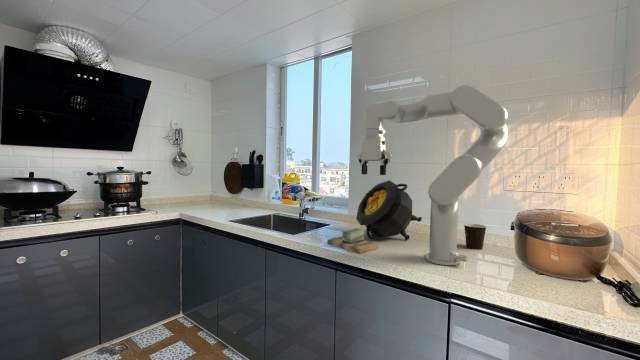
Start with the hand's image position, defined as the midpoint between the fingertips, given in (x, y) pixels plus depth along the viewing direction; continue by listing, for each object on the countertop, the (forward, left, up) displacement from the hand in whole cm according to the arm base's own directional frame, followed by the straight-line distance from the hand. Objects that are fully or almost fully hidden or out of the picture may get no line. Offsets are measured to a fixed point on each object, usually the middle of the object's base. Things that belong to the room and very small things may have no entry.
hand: (373, 174), depth 120 cm
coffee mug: (-27, -37, -32) cm, 56 cm away
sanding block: (+9, +2, -30) cm, 32 cm away
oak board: (+10, +2, -32) cm, 34 cm away
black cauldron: (+9, -23, -32) cm, 41 cm away
